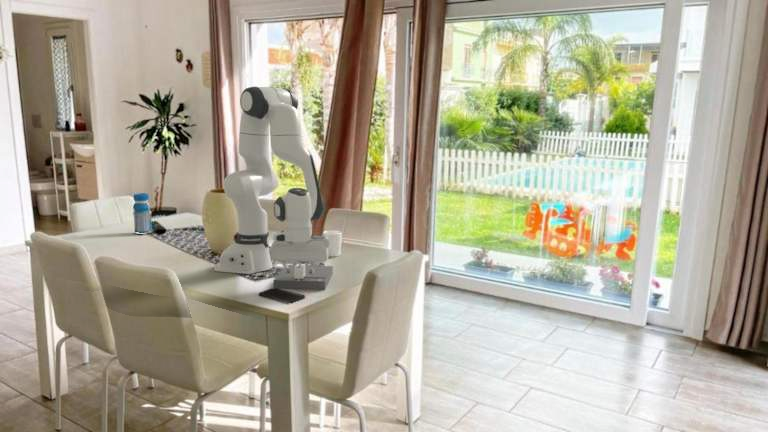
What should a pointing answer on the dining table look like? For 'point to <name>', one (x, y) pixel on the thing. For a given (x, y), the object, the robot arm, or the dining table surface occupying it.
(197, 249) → the dining table surface
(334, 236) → the white cup
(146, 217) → the beverage bottle
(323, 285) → the mixer panel
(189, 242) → the dining table surface
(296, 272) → the fader knob
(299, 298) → the phone
